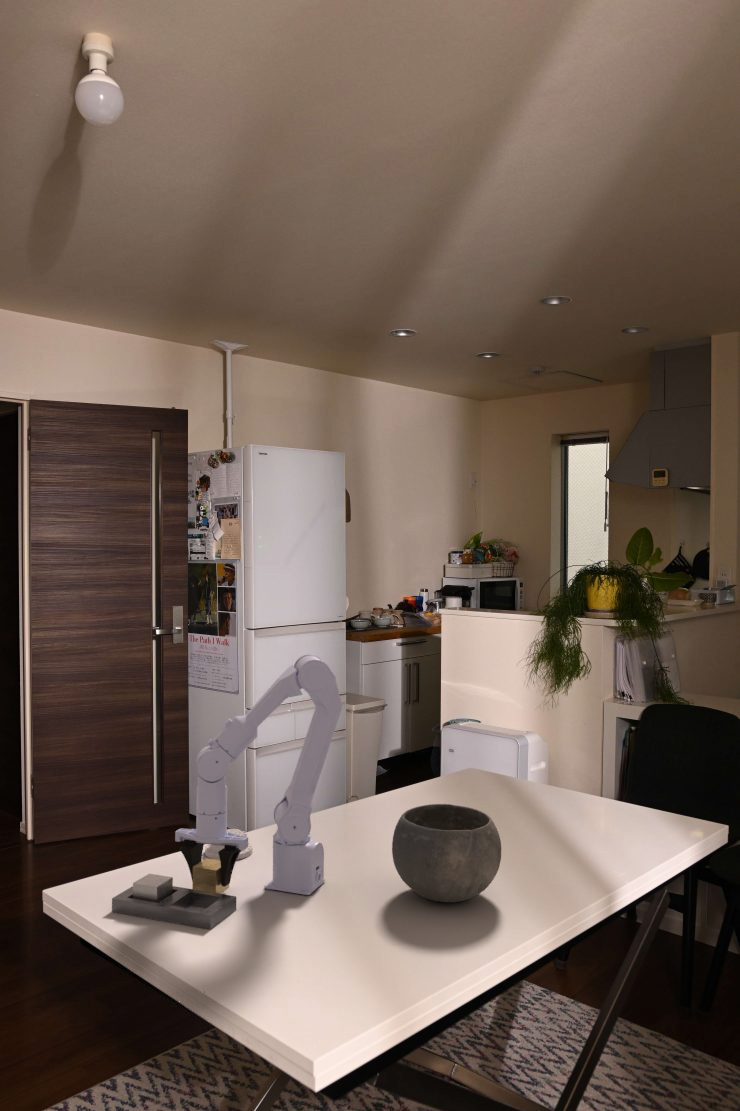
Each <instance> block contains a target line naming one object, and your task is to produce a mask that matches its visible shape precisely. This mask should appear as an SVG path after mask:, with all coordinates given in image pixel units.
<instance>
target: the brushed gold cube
mask: <svg viewBox="0 0 740 1111" xmlns="http://www.w3.org/2000/svg"><path fill="white" fill-rule="evenodd" d="M229 888H230V883H229V884H228V885H227V886H225V887H224V886H222V884H221V863H220V860H215V859H211V858H208V857H206V858H205V859H203V860H201V862H200V863H198V864H196V865H195V866H193V882H192V889H194V890H200V891H206V892H212V893H218V894H223V893H224V892H225V891H226V890H228V889H229Z"/></svg>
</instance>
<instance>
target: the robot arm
mask: <svg viewBox="0 0 740 1111" xmlns="http://www.w3.org/2000/svg"><path fill="white" fill-rule="evenodd" d="M302 689H303V690H304V692H306V693H307V694H308V696H309V697H310V699H311V702H312V703H313V705H314V707H315V709H314V712H313V714H312V718H311V720H310V724H309V726H308V730H307V732H306V735H305V739H304V741H303V745H302V748H301V750H300V753H299V757H298V760H297V763H296V766H295V769H294V772H293V775H292V778H291V781H290V784H289V786H288V787H287V788H286V790H285V792H284V795H283V797H282V799H281V800H280V801H279V802H278V803H277V804H276V805H275V808H274V810H273V819H274V822H275V824H276V826H277V830H276V831H275V833H274V834H273V835H272V879H271V880H270V881H268V882H267V883H266V884H264V886H263V888H264V889H267V890H273V891H274V890H275V891H279V892H285V893H294V894H299V895H305V896H309V895H311V894H312V893H313V892H314V891H315V890H317V889H318V888H319V887H320V886H321V885H322V884H324V883H325V882H326V879H325V878H324V876H325V875H324V874H325V872H324V870H325V867H324V866H325V865H324V864H325V863H324V862H325V850H324V846H323V843H322V842H320V841H315V840H314V839H313V838H311V837H312V836H311V829H312V823H311V814H312V811H313V806H314V805H313V804H314V797H315V796H314V795H315V791H316V788H317V785H318V783H319V780H320V776H321V773H322V769H323V768H324V764H325V761H326V758H327V755H328V753H329V749H330V746H331V743H332V740H333V737H334V734H335V730H336V728H337V725H338V722H339V719H340V715H341V713H342V710H343V709H342V708H343V703H342V698H341V695H340V692H339V687H338V683H337V678H336V675H335V673H334V672H333V670H331V668H330V667H329V665H328V664H327V663H326V662H325V661H323V660H322V658H320V657H319V656H317V655H315V654H311V653H310V654H309V653H308V654H307V653H306V654H304V655H302V656H300V657H298V658H297V659H296V660H295V662H294V664H291V665H290V666H289V667H287V668H286V669H285V670H284V671H283V673H282V674H281V675H279V676H278V678H277V679H276V680H275V681H274V682H273V684H271V685H270V687H269V688H268V689H267V690H266V691H265V692H264V693H263V695H262V696H261V697H260V698H259V699H258V701H257V702H256V703H255V704H253V706H252V707H251V709H249V710H248V712H247V713H246V714H244V715H235V716H234V717H233V719H231V718H228V719H227V720H225V722H224V725H225V727H224V728H223V729H222V730H221V731H220V732H219V733H218V734H217V735H216V737H214V739H213V738H210V739H209V740H208V741H207V745H208V746H205V747H203V748H201V749H200V751H199V752H198V754H197V756H196V758H195V763H196V764H195V765H196V771H197V772H198V773H197V775H198V776H197V779H196V783H197V786H196V792H195V793H196V806H195V807H196V811H195V812H196V814H195V815H196V820H195V821H196V822H195V823H196V826H195V827H196V828H179V829H177V830H176V831H174V833H175V834H174V835H175V836H174V838H175V839H174V840H175V842H183V843H182V845H181V846H179V847H180V852H181V853H182V856H183V857H184V859H185V862H186V864H187V866H188V869H189V873H190V877H191V882H192V883H193V866H195V865H196V864H198V863H200V862H201V861H203V860H202V857H203V850H204V845H208V844H210V845H218V846H224V848H223V849H222V850H220V851H219V852H218V854H219V858H220V863H221V884H222V886H224V887H225V886H227V885H228V884H229V885H230V884H231V878H232V875H233V874H232V873H233V871H234V868H235V865H236V862H237V858H238V856H239V854H240V852H241V850H244V849H246V848H247V847H248V843H249V836H247V837H245V836H241V835H237V834H234V833H231V832H227V829H228V827H227V826H228V805H227V804H228V786H227V784H226V783H227V780H226V779H227V774H228V772H229V770H230V764H231V763H233V762H235V761H236V760H237V759H238V758H239V757H240V756H241V755H242V754H243V753H244V751H246V750H247V748H248V747H249V746H251V744H253V742H254V741H255V740H256V739H257V738H258V728H259V727H260V725H261V724H262V723H263V722H264V721H265V720H266V719H267V718H268V717H269V716H271V714H272V713H274V711H275V710H277V709H278V707H279V706H280V705H282V703H283V702H284V701H285V700H287V699H288V698H293V697H298V696H302V695H303V692H302V691H301V690H302Z"/></svg>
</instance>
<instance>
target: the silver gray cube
mask: <svg viewBox="0 0 740 1111" xmlns="http://www.w3.org/2000/svg"><path fill="white" fill-rule="evenodd" d="M173 883H174V880H173V876H166V875H160V874H154V873H147V874H146V875H144V876H143V877H140V878H139V879H138V880H135V881H133V882H132V886H133V899H138V900H143V901H149V902H155V903H159V902H161V901H162V900H164V899H165V898H167V897H168V896H170V895H171V894H173V886H174V884H173Z"/></svg>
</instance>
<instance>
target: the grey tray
mask: <svg viewBox="0 0 740 1111" xmlns="http://www.w3.org/2000/svg"><path fill="white" fill-rule="evenodd" d="M190 906H193V907H200V908H204V909H203V910H200V909H195V908H191V907H190ZM189 907H190V908H189ZM236 911H237V896H235V895H228V894H223V893H221V894H218V893H212V892H206V891H200V890H194V889H193V888H187V887H182V886H174V885H173V894H171V895H170V896H168V897H167V898H165V899H164V900H162V901H161V902H159V903H155V902H149V901H143V900H138V899H133V885H132V886H130V887H129V888H127V889H125V890H123V891H122V892H120V893H119V894H117V895H115V896H113V897H112V898H111V913H116V912H117V913H118V914H121V913H122V914H121V915H128V916H133V917H139V918H144V919H150V920H156V921H162V922H166V923H171V924H178V925H184V926H188V927H195V928H200V929H205V930H212V929H213V928H215V927H216V926H217V925H219V924H220V923H221V922H222V921H223V920H225V919H226V918H228V917H229V916H231V915H232V914H233V913H234V912H236Z"/></svg>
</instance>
